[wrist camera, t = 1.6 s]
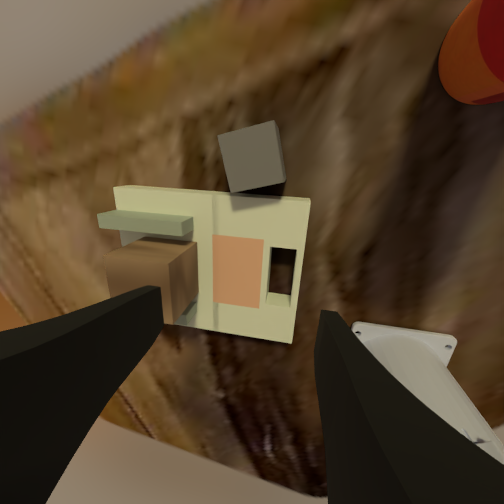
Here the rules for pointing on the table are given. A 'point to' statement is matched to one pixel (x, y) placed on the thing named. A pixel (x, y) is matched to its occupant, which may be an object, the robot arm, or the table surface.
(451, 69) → the paper cup
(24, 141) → the table surface
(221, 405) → the table surface
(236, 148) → the charcoal block
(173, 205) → the board
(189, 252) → the walnut block
